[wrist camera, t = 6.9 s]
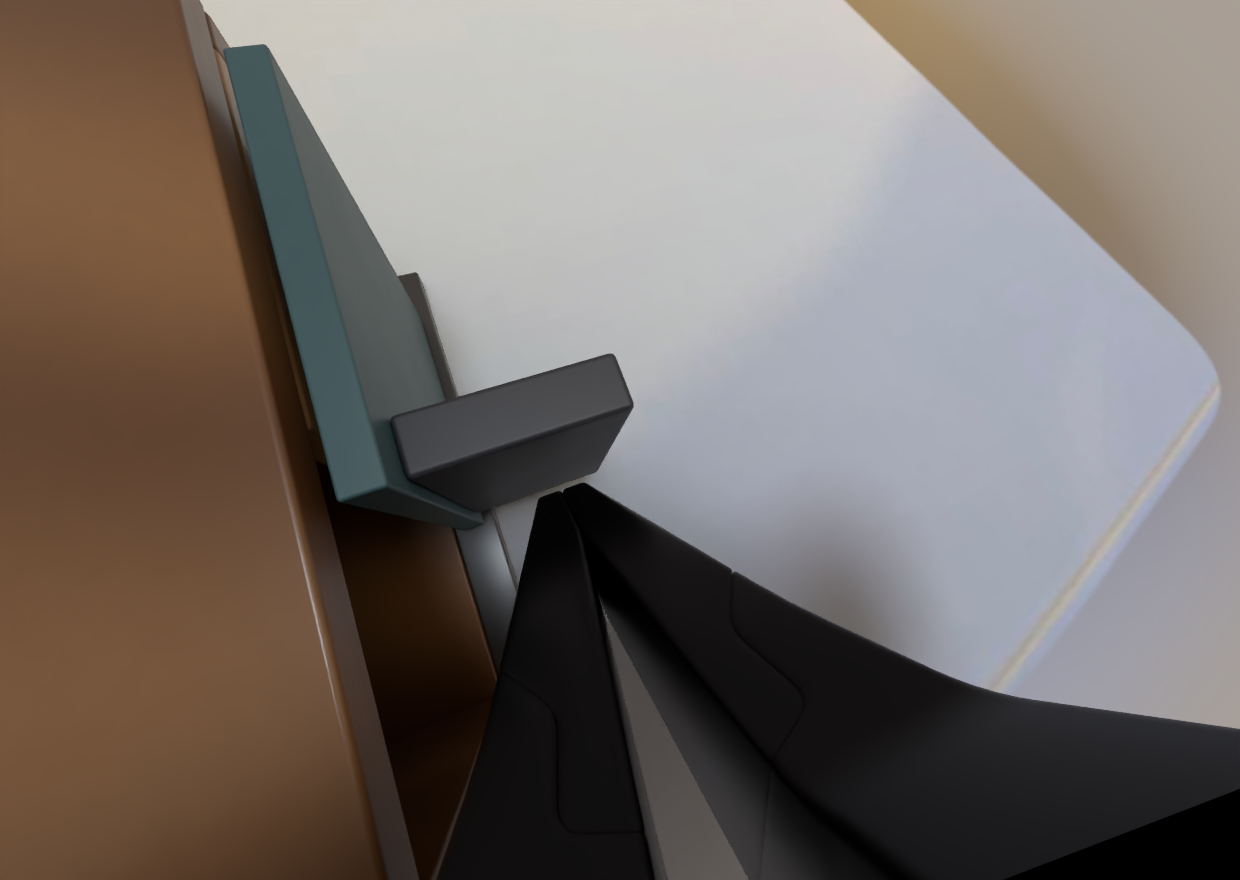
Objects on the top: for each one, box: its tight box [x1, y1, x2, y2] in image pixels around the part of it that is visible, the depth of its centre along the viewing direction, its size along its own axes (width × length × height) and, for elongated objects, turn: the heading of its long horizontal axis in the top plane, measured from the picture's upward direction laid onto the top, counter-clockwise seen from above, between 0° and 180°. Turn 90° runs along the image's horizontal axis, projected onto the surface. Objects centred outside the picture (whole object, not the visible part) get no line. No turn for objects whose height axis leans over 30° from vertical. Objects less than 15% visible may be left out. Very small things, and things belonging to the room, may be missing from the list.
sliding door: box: [223, 44, 633, 530], centre depth 10 cm, size 7×4×8 cm, turn 21°
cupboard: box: [0, 0, 518, 880], centre depth 9 cm, size 14×9×9 cm, turn 21°
